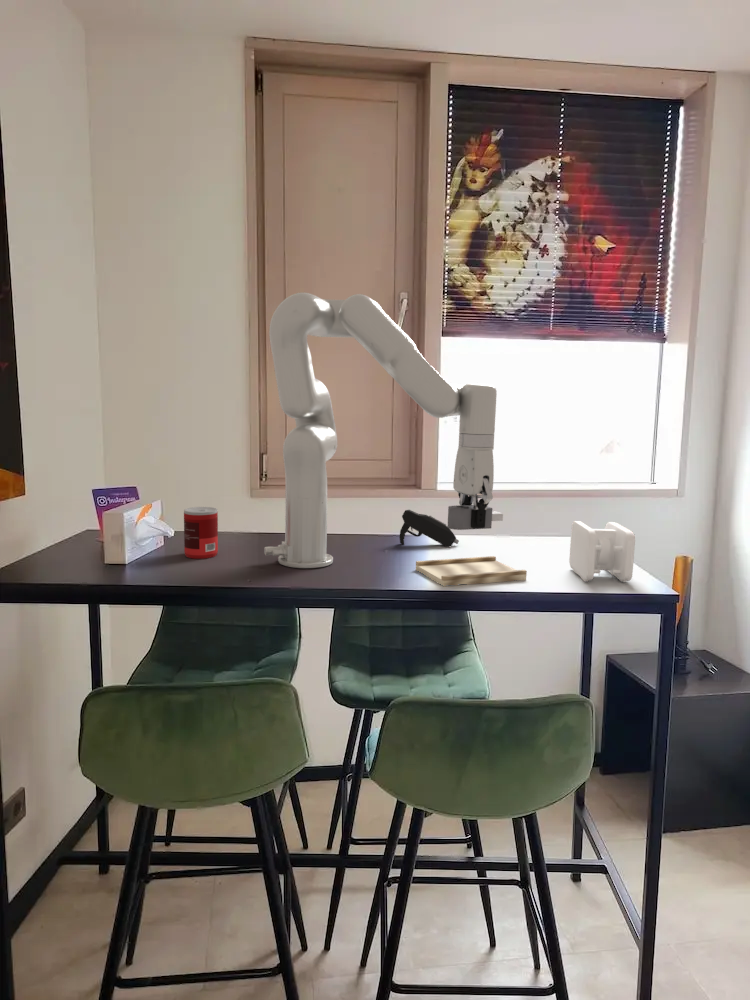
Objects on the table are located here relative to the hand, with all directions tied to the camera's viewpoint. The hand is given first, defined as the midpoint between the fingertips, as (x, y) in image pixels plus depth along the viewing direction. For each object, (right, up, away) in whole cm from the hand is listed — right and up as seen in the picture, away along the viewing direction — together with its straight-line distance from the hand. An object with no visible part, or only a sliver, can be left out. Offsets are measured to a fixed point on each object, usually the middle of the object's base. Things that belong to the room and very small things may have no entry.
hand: (472, 524), depth 155 cm
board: (0, -11, +2) cm, 11 cm away
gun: (-7, -7, +31) cm, 32 cm away
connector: (0, -1, 0) cm, 1 cm away
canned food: (-62, -8, +13) cm, 64 cm away
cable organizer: (+29, -12, +4) cm, 32 cm away
